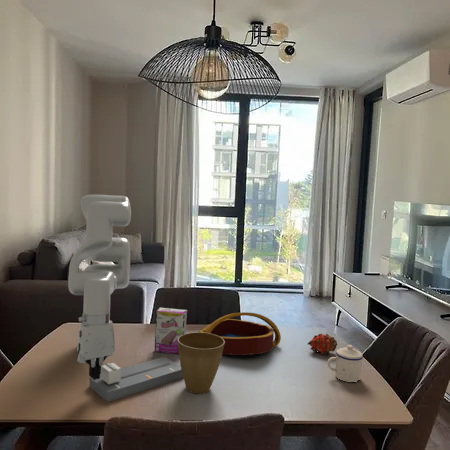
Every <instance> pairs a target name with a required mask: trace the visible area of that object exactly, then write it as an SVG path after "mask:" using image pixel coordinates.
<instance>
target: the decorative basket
mask: <svg viewBox="0 0 450 450" xmlns="http://www.w3.org/2000/svg"><path fill="white" fill-rule="evenodd" d="M241 316H246V317H247V316H249V317H255V318H257V319H260V320H262V321H263V322H265V324H262V323H258V322H257V323H256V322H254V321H249V320H248V321H247V320H241V319H234V317H241ZM198 332H203V333H210V334H214V335H217V336H220V337H221V338H223V339H224V341H225V343H224V348H223V352H222V355H230V356H231V355H233V356H238V355H239V356H243V355H246V356H247V355H257V354H258V355H259V354H264V353H268V352H270V351H272V349H273V348H276V347H277V346H279V344H280V342H281V339H282V338H281V337H282V335H281V332H280V330H279V328H278V326H277V325H276V323H275V322H274V320H273V321H272V319H270V318H269V317H267V316H265V315H262V314H259V313H255V312H246V311H245V312H233V313H230V314H226V315H224V316H222V317H221V316H220V317H219V318H217V319H216V320H214V321H213V322H211V323H210V324H207V325H205V327H202V329H200V330H198Z"/></svg>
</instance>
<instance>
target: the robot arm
mask: <svg viewBox="0 0 450 450" xmlns="http://www.w3.org/2000/svg"><path fill="white" fill-rule="evenodd" d="M80 207H81V208H80V209H81V211H82V214H83V217H84V218H85V220H86V226H85V227H86V228H85V229H86V230H85V242H84V243H82V244H81V245H80V246H78V248H77V249H76V251H75V252H74V254H73V255H72V257H71V259H70V262H69V268H68V280H67V281H68V282H67V285H68V290H69V292H70V294H72V295H74V296H83V310H82V316H79V317H78V321H79V323H80V322H81V323H80V326H79V330H78V337H77V345H76V346H77V348H76V350H77V351H76V352H77V355H78V356H77V360H76V361H77V362H78V363H79V364H88V365H89V366H88V369H89V370H88V375H89V378H90V377H91V378H92V379H94V380H96V379H100V375H101V366H103V364H104V362H105V360H106V359H107V358H109V357H111V356H112V355H113V354H114V352H115V348H116V346H115V343H116V341H115V329H114V324H113V321H112V320H110V317H111V295H112V294H113V293H114V291H115V290H117V289H125V288H127V287H128V286H129V283H130V273H131V243H130V242H129V240H128V239H127V238H125V237H114V236H113V233H114V231H113V228H114V227H127V226H129V225H130V223H131V218H132V209H131V208H132V206H131V201H130V200H129V198H128V196H125V195H113V194H112V195H110V194H87V195H83V196H82V197H81V199H80ZM86 259H89V260H91V261H92V262H98V264H97V263H95V264H90V265H87V266H86V267H85V268H84V269H83V270H79V268H80V265H81V263H82V262H83V261H85V260H86ZM99 262H101V264H99ZM102 262H104V263H105V264H103V263H102ZM107 263H115V264H107ZM116 263H117V264H116Z"/></svg>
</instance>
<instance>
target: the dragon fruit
mask: <svg viewBox="0 0 450 450" xmlns="http://www.w3.org/2000/svg"><path fill="white" fill-rule="evenodd" d="M307 345H308V346H310V350H311V351H312V352H316V351H318V352H319V353H321V355H322V354H323V355H325V354H326V353H329V354H330V352H336V349H337V346H338V342H337V340H336V339H335V337H333V336H330V335H329V334H328V333H325V334H322V333H319V334H318V335H314V336H313V338H312V339H311V340H309V342H307Z"/></svg>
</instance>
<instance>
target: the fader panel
mask: <svg viewBox="0 0 450 450" xmlns="http://www.w3.org/2000/svg"><path fill="white" fill-rule="evenodd" d="M179 379H184V378H183V374H182V370H181V365H179V364H178V363H176V362H174V361H172V360H170V359H169V358H168V357H165V356H162V357H159V358H156V359H151V360H148V361H144V362H140V363H137V364H133V365H131V366H126V367H123V368H122V367H121V381H118V382H115V383H112V384H107V383H106V382H105V381H104V380H102V379H101V374H100V379H96V380H94V379H92V378H91V377H90V376H89V385H88V386H89V388H90V389H91V390H93V391H94V392H95V393H96V394H98V395H99V396H100V397H101V398H102V399H103V400H104V401H106V403H111V402H113V401H115V400H119V399H122V398H125V397H127V396H128V397H129V396H131V395H134V394H137V393H138V394H139V393H140V392H143V391H146V390H148V389H153V388H155V387H159V386H161V385H165V384H168V383H171V382H174V381H176V380H179Z"/></svg>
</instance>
